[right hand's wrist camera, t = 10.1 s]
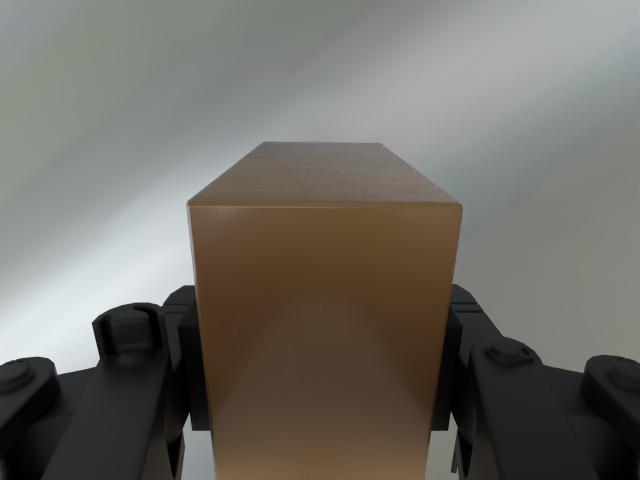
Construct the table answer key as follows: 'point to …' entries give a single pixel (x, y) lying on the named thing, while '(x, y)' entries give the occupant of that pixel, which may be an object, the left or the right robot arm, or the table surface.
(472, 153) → the table surface
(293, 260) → the beam
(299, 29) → the table surface
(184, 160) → the table surface
